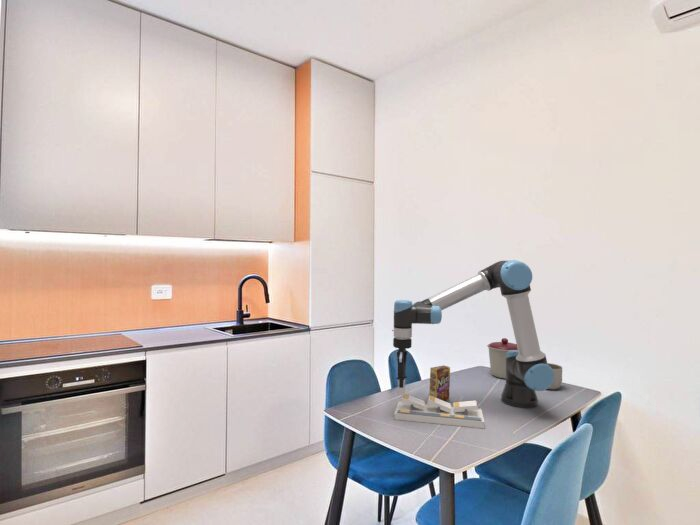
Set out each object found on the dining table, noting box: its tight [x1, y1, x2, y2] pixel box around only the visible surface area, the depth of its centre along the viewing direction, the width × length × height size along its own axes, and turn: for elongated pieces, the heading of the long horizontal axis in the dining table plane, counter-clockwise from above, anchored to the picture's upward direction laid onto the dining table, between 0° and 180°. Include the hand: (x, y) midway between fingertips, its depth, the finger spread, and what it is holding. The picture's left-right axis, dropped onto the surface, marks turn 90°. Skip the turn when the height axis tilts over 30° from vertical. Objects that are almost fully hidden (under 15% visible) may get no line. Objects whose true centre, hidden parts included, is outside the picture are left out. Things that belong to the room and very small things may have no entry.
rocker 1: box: [400, 393, 426, 410], centre depth 169 cm, size 9×7×2 cm
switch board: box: [393, 401, 485, 429], centre depth 166 cm, size 34×14×4 cm, turn 77°
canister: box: [486, 337, 518, 380], centre depth 226 cm, size 18×18×21 cm
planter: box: [547, 362, 563, 391], centre depth 207 cm, size 12×12×11 cm
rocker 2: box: [427, 395, 452, 413], centre depth 166 cm, size 9×7×2 cm
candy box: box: [428, 365, 451, 402], centre depth 185 cm, size 9×4×15 cm, turn 123°
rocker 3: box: [453, 400, 479, 412], centre depth 164 cm, size 9×7×2 cm
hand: (401, 394), depth 170 cm, fingers closed
